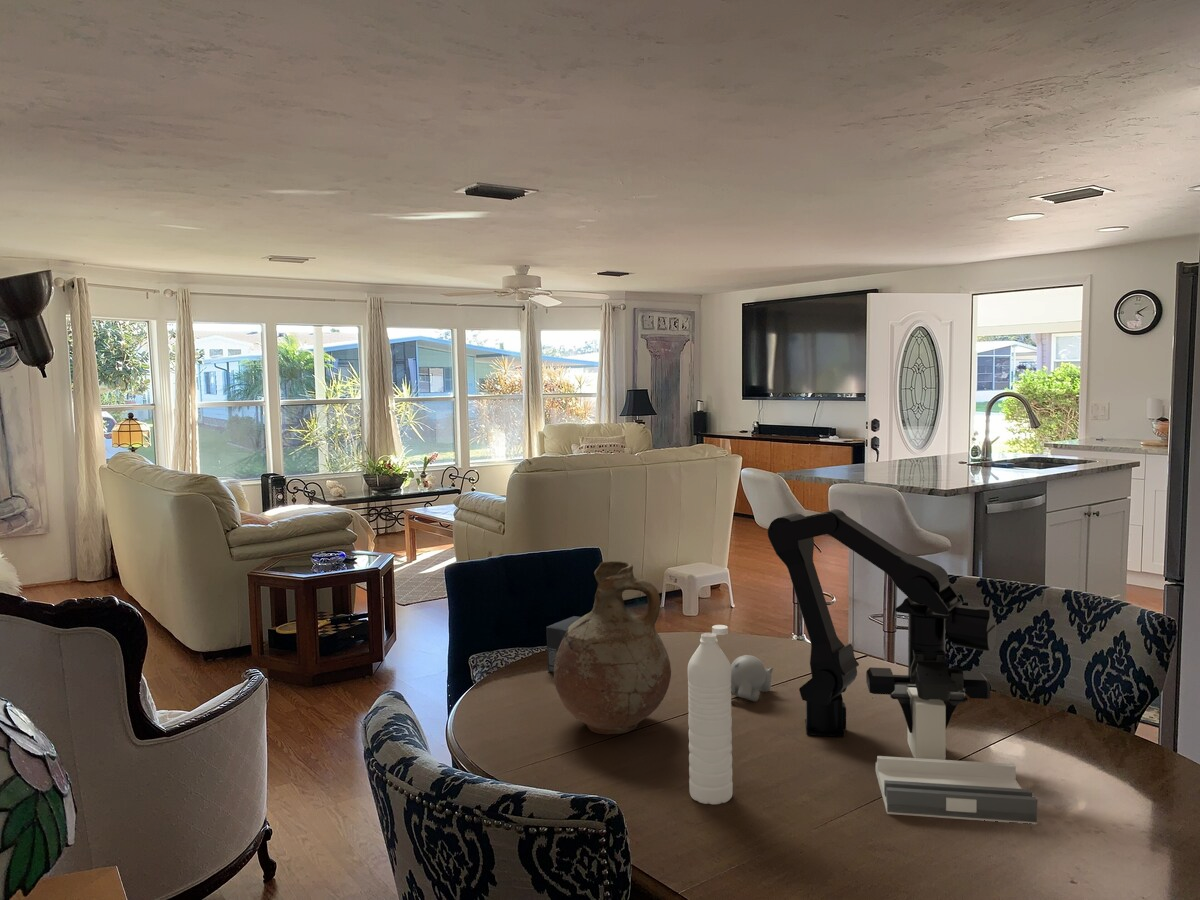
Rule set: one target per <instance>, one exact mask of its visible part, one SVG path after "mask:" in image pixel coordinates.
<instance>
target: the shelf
mask: <svg viewBox="0 0 1200 900" xmlns="http://www.w3.org/2000/svg"><path fill="white" fill-rule="evenodd" d="M1016 769H1017V767H1016V765H1015V764H1014V763H1007V762H1006V763H1005V762H989V761H987V762H985V761H971V760H969V761H968V760H957V759H956V760H954V759H952V760H951V759H946V760H939V759H922V758H914V757H904V756H902V757H901V756H899V757H898V756H888V755H887V756H885V755H884V756H883V755H877V757H876V761H875V774H876V779H877V782H878V786H879V789H880V793H881V795H882V800H883V804H884V807H885V811H886V814H887V815H899V816H900V815H901V816H914V817H924V818H925V817H926V818H927V817H929V818H941V819H942V818H943V819H955V820H956V819H957V820H966V821H967V820H969V821H970V820H971V821H981V822H982V821H984V820H985V821H986V822H995V821H998V823H1009V822H1018V823H1017V824H1023V823H1028V824H1027V825H1030V824H1029V823H1032V824H1031V825H1038V799H1037V797H1036V796H1033V795H1034V794H1033V791H1032V790H1031V789H1029V788H1022V787H1021V786H1020V784H1019V783H1018V781H1017V780H1016V779H1017V777H1016V776H1017V775H1016V772H1017V771H1016ZM985 821H984V822H985ZM1033 823H1034V824H1033Z"/></svg>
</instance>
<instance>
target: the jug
mask: <svg viewBox="0 0 1200 900" xmlns="http://www.w3.org/2000/svg"><path fill="white" fill-rule="evenodd" d="M633 571H634V566H633V564H632V563H631V562H628V561H623V560H610V561H609V560H607V561H601V562H600V563H599V565H598V567H597V568H596V569H595V570H594V572H593V573H594V577H595V581H596V583H597V588H596V592H595V594H594V603H593V607H592V609H591V611H590V612H587V613H586V614H584V615H582V616H580V617H581V618H580V619H578V620H577V621H575V622H574V623H573V624H571V625H570V626H569V627H568V628H567V631H566V634H565V636H564V638H563V640H562V642H561V644H560V646H559V649H558V652H557V655H556V659H555V664H554V673H553V679H554V680H553V681H554V687H555V690H556V692H557V694H558V696H559V698H560V701H561V702H562V704H563V705H564V707H565V708H566V710H567V711H568V712H569V713H570V715H572V716H573V717H574V718H575V719H576V720H579V721H580V722H581V723H583V724H585V725H586V727H587V728H588V729H589V731H591V732H594V733H595V734H599V735H600V734H601V735H623V734H626V733H629V732H632V731H634V730H635V729H636V728H637V727H638V725H639V723H640V722H643V720H645V719H646V718H648V717H650V716H651V715H652V714H653V712H655V711H656V710H657V709H658V707H659V706H660V705H661V703H662V701H664V698H665V697H666V694H667V692H668V689H669V687H670V683H671V676H672V668H671V661H670V658H669V654H668V651H667V648H666V647H665V644H664V643H663V639H662V638H661V636H660V634H659V633H658V632H657V629H656V627H655V626H656V623H657V620H658V618H659V614H660V608H661V597H660V594H659V590H658V589H657V588H656V587H655V585H653V584H652V582H650V581H649V580H647V579H644V578H636V577H635V576H634V572H633ZM631 590H632V591H640V592H642V593H643V594H645V596H646V599H647V604H646V605H647V606H646V609H645V611H644V612H643V613H642V614H640V615H639V614H637V613H635V612H633V611H632V610H629V609H628V608H627V607H626V605H625V603H624V598H623V593H624V592H625V591H631Z"/></svg>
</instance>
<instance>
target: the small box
mask: <svg viewBox="0 0 1200 900" xmlns="http://www.w3.org/2000/svg"><path fill="white" fill-rule="evenodd" d="M581 617H582V616H575V615H573V616H570V617H568V618H565V619H562V620H560V621H558V622H555V623H553V624H550V625H548V626H546V629H545V631H546V649H547V654H546V655H547V672H548V671H549V672H548V673H550V672H553V673H552V674H554V664H555V659H556V655H557V652H558V649H559V646H560V644H561V642H562V640H563V638H564V636H565V634H566V631H567V628H568V627H569V626H570V625H571V624H573V623H574V622H575V621H577V620H578V619H580V618H581Z"/></svg>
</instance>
